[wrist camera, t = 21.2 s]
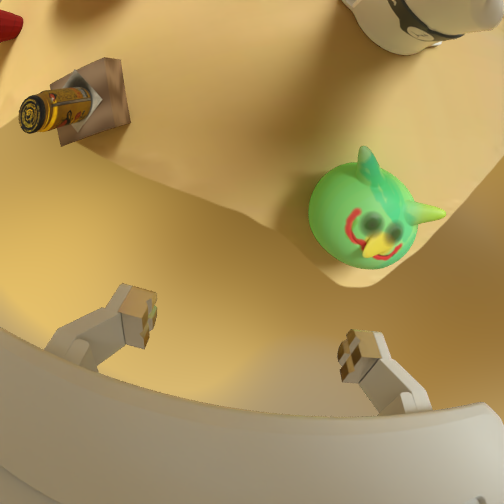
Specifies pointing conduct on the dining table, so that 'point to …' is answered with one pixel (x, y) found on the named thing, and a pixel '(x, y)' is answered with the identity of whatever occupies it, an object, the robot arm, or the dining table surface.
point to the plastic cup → (9, 25)
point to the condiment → (59, 106)
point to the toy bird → (366, 214)
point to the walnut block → (109, 109)
